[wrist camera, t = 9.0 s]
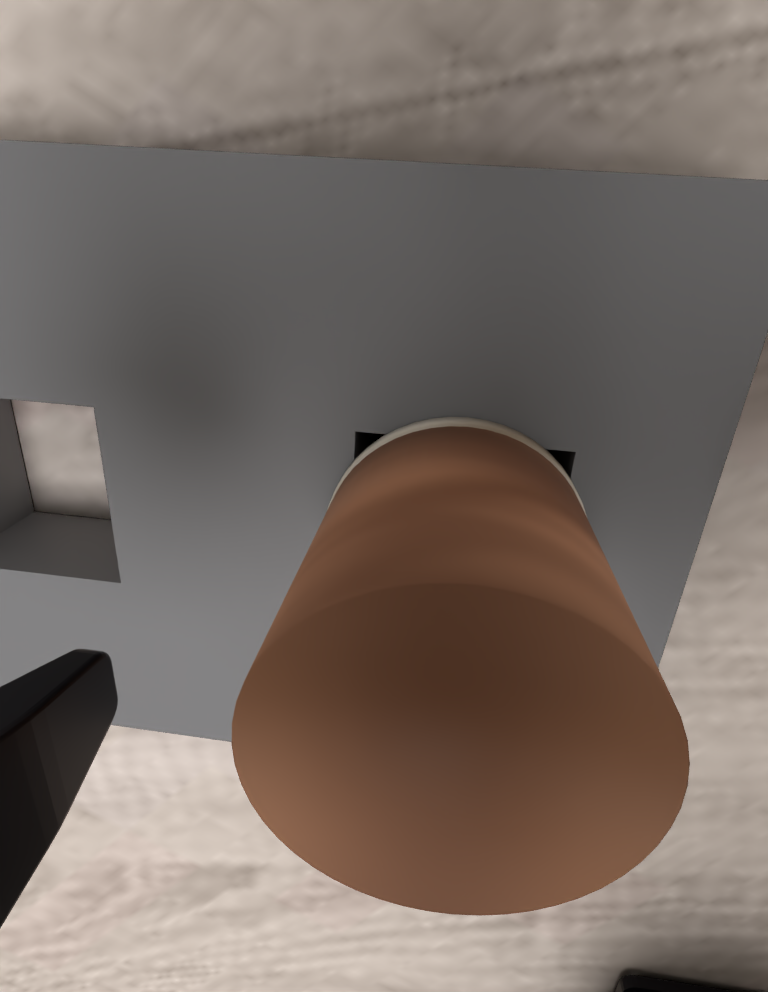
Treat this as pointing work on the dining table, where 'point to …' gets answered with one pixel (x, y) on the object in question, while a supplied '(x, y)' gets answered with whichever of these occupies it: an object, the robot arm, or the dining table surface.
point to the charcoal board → (343, 375)
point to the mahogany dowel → (460, 687)
